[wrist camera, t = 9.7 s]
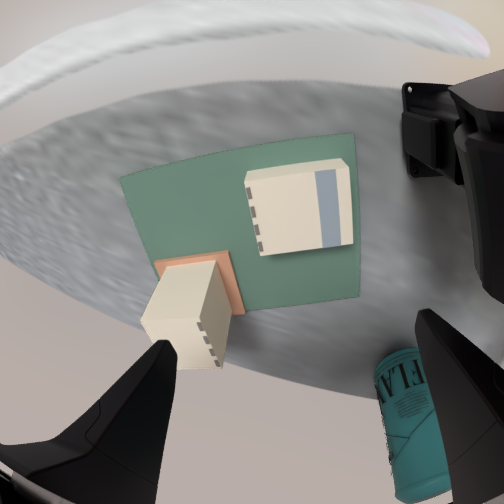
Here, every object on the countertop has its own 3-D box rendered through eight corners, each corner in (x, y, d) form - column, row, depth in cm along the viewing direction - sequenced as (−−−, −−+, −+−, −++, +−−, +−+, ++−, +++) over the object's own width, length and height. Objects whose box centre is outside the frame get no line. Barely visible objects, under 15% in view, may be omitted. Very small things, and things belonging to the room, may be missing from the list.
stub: (216, 259, 22) (199, 318, 16) (232, 310, 24) (222, 369, 19) (166, 266, 22) (139, 321, 17) (187, 314, 25) (169, 370, 20)
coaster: (228, 249, 22) (227, 252, 21) (245, 310, 25) (245, 313, 24) (155, 260, 23) (153, 263, 22) (179, 316, 26) (178, 319, 25)
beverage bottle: (414, 325, 25) (470, 517, 8) (430, 354, 28) (474, 512, 11) (359, 356, 28) (386, 544, 11) (382, 380, 30) (408, 536, 13)
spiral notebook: (340, 158, 17) (349, 167, 16) (346, 227, 20) (353, 244, 18) (247, 171, 18) (243, 182, 16) (261, 239, 21) (260, 256, 19)
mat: (351, 132, 17) (353, 133, 17) (358, 293, 23) (359, 296, 23) (121, 176, 19) (118, 178, 19) (176, 313, 26) (174, 316, 26)
